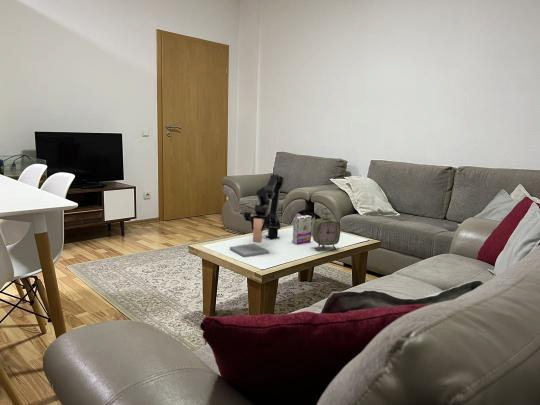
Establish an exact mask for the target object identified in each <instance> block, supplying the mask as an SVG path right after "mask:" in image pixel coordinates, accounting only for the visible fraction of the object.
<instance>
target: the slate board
mask: <svg viewBox="0 0 540 405" xmlns="http://www.w3.org/2000/svg"><path fill="white" fill-rule="evenodd" d="M229 250H230V251H232V252H234V253H235V254H237V255H239V256H241V257H243V258H248V257H255V256H261V255H267V254H270V251H269V250H268V249H266V248H264V247H262V246H259V245H257V243H249V244H241V245H234V246H233V245H232V246H229Z"/></svg>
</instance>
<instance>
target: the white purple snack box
mask: <svg viewBox="0 0 540 405" xmlns="http://www.w3.org/2000/svg"><path fill="white" fill-rule="evenodd" d="M297 215H298V216H305V215H308V216H312V224H311V238H313V224H314V221H315V220H316V213H315V212H314V211H303V215H301V214H300V213H295V215H294V216H297Z"/></svg>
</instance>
